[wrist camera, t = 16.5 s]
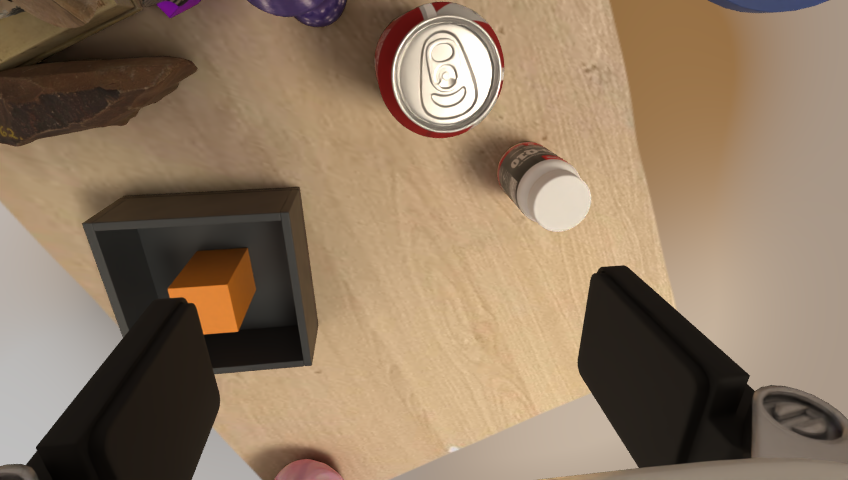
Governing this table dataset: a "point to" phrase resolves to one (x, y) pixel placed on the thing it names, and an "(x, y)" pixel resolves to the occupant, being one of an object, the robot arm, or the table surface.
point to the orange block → (217, 288)
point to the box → (53, 33)
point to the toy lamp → (304, 10)
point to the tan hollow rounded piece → (52, 11)
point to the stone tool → (82, 94)
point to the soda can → (439, 69)
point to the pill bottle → (544, 186)
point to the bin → (215, 230)
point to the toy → (172, 5)
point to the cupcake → (308, 471)
